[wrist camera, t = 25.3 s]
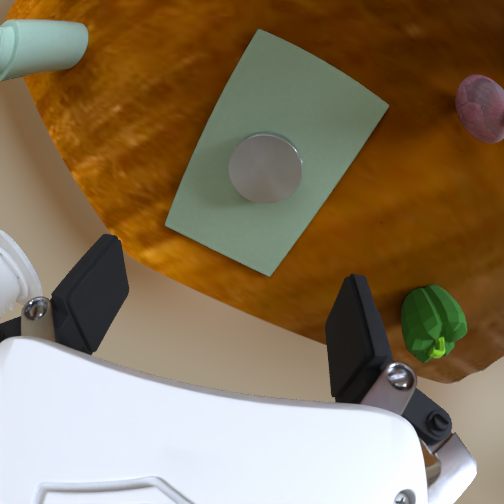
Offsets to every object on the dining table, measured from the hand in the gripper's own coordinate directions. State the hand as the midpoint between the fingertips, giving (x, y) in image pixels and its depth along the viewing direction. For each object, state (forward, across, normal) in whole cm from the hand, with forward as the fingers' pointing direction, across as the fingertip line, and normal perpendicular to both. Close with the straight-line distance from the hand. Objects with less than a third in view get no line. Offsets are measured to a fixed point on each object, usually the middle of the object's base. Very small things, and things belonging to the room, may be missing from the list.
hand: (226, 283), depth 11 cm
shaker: (+17, +22, -13) cm, 31 cm away
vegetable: (+16, -19, -12) cm, 28 cm away
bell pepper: (+16, -24, +12) cm, 31 cm away
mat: (+17, -1, 0) cm, 17 cm away
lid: (+15, -1, 0) cm, 15 cm away
